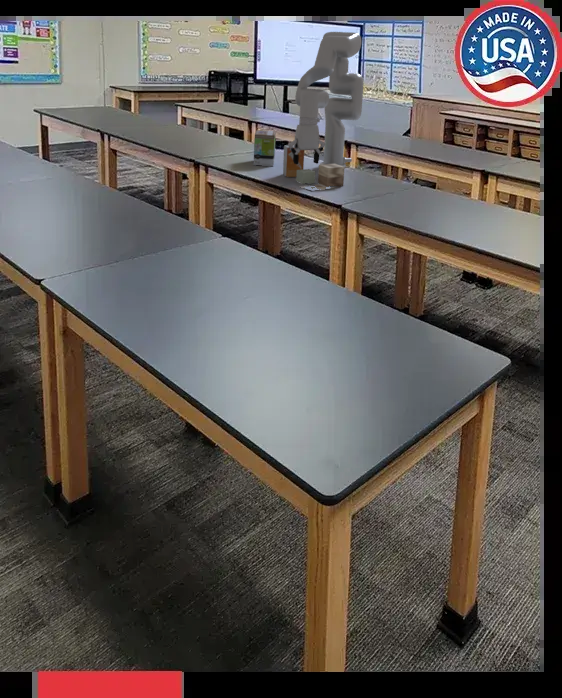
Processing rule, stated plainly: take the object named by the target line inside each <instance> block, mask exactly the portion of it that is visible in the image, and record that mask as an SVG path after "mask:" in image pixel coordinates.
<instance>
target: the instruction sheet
mask: <svg viewBox="0 0 562 698" xmlns="http://www.w3.org/2000/svg"><path fill="white" fill-rule="evenodd" d="M314 185H315V187H316V188H317V189H319V190H320V189H321V190H320V191H326V190H325V189H326V187H327V186H324V185H322V184H314ZM306 186H307V185H303V186H300V187H301V188H300V189H303V188H305V187H306ZM315 187H311V188H312V189H313V188H315Z"/></svg>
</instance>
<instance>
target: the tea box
mask: <svg viewBox="0 0 562 698" xmlns="http://www.w3.org/2000/svg"><path fill="white" fill-rule="evenodd" d="M276 133H277V132H276V131H275V130H258V129H257V130H255V133H254V137H253V138H254V140H253V166H256V165H262V166H261V167H274V163H275V155H276Z"/></svg>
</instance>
